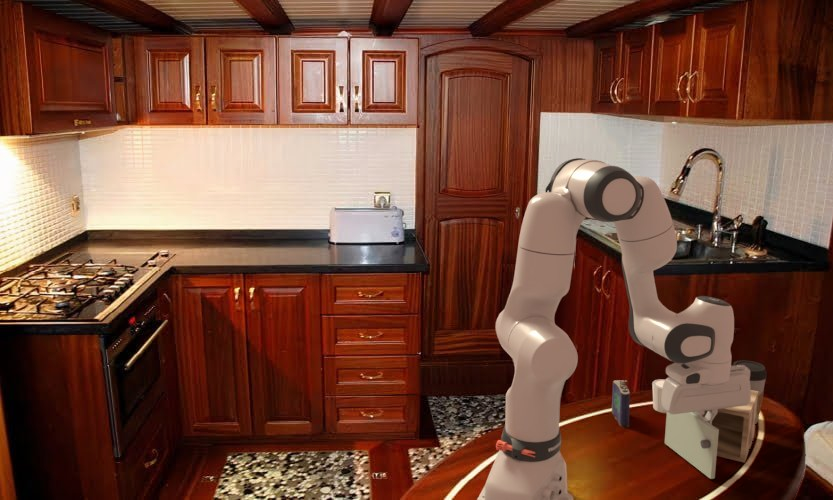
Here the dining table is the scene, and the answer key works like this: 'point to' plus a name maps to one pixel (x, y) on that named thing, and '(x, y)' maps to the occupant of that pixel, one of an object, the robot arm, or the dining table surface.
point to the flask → (621, 402)
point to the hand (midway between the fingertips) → (704, 426)
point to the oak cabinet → (736, 429)
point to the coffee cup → (755, 380)
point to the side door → (693, 440)
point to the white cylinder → (658, 395)
